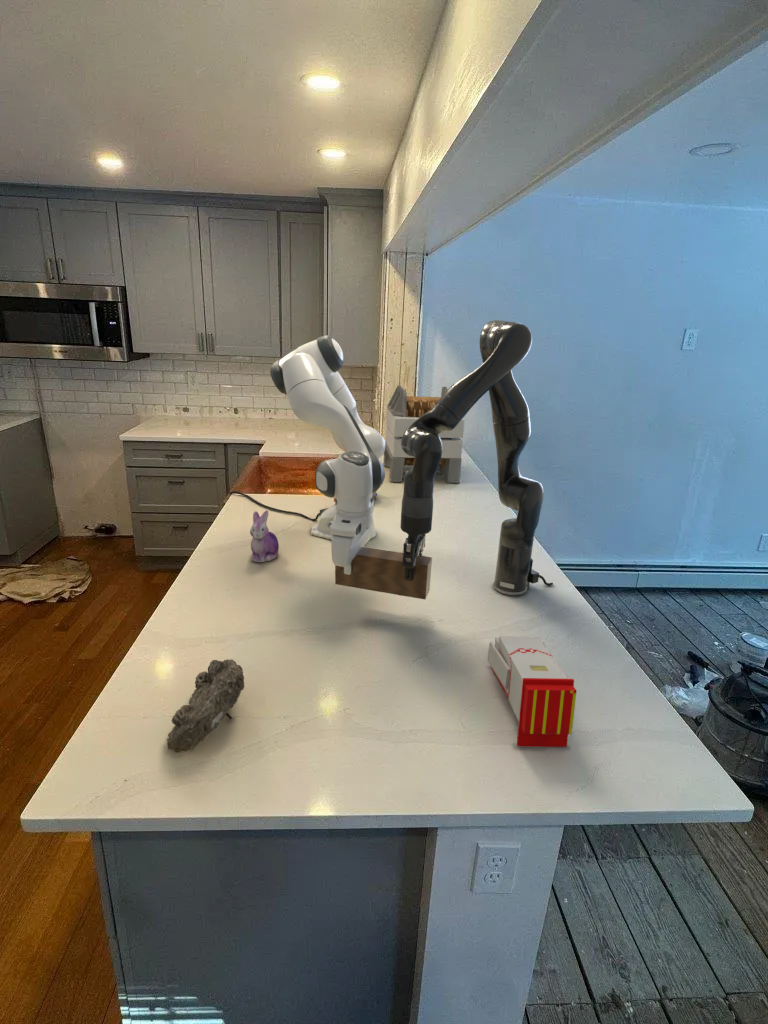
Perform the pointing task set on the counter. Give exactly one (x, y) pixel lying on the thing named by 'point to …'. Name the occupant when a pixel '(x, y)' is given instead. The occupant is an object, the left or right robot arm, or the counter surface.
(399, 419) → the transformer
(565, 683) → the toy
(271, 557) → the figurine
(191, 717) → the fossil
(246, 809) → the counter surface
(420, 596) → the bar
